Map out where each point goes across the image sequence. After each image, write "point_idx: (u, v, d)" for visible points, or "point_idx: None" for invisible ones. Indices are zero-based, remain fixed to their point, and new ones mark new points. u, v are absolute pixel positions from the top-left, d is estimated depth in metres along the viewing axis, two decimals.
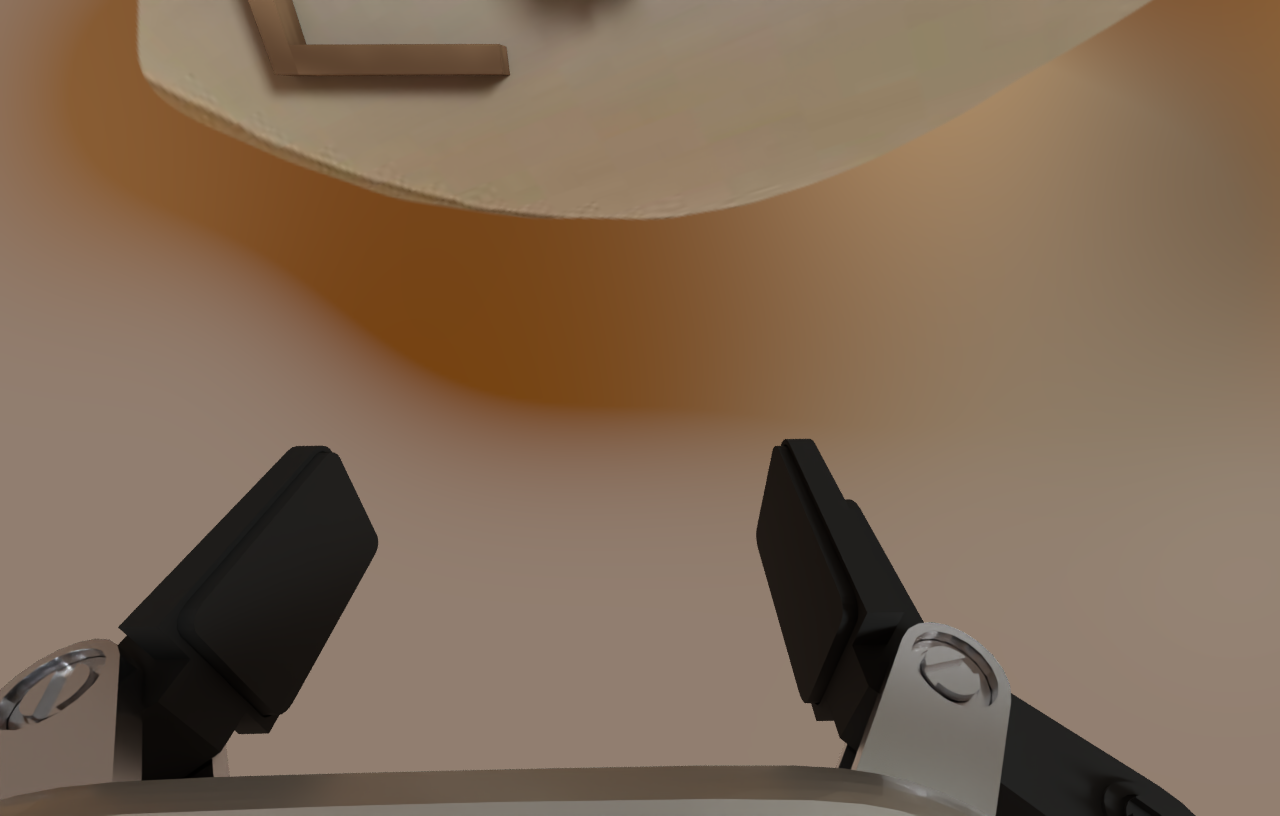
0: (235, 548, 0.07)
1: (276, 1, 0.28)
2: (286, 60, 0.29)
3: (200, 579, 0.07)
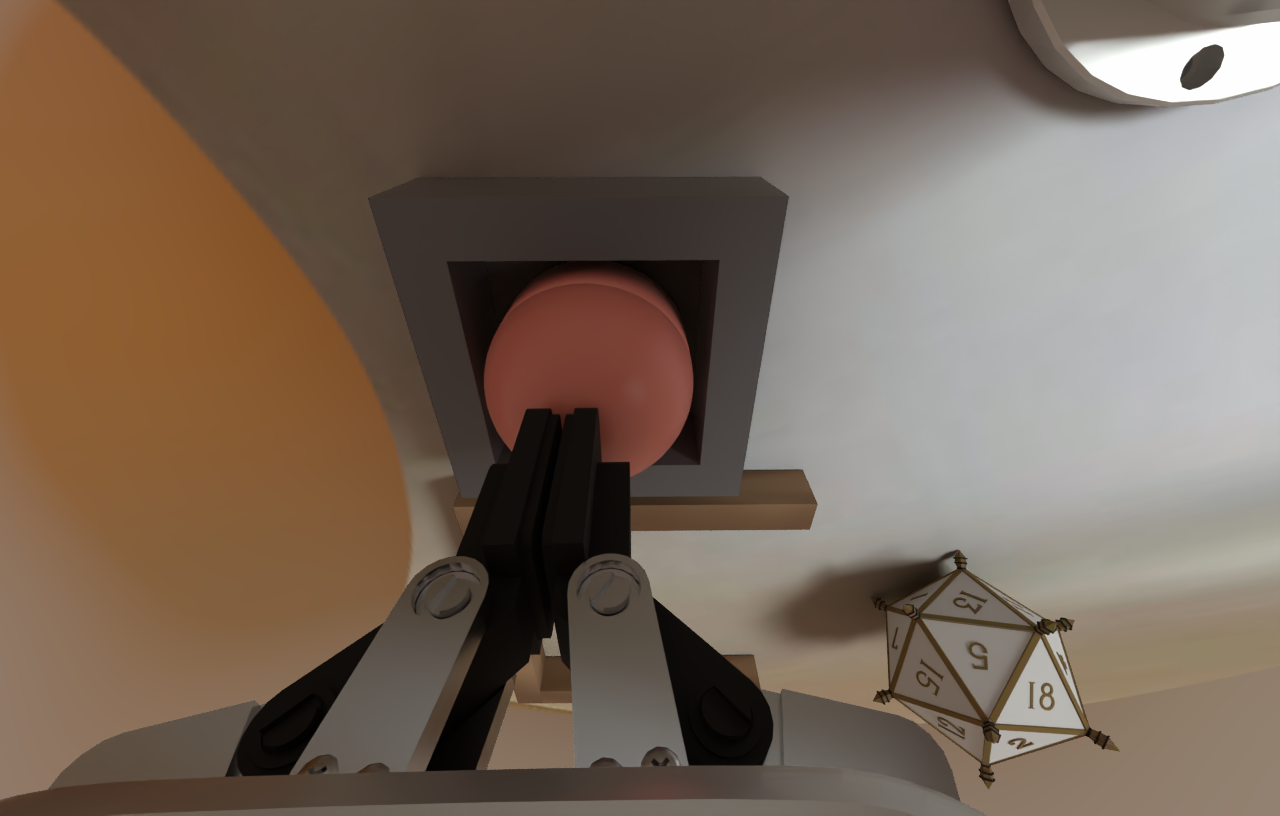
0: (531, 487, 0.08)
1: (536, 668, 0.26)
2: (533, 697, 0.28)
3: (523, 509, 0.08)
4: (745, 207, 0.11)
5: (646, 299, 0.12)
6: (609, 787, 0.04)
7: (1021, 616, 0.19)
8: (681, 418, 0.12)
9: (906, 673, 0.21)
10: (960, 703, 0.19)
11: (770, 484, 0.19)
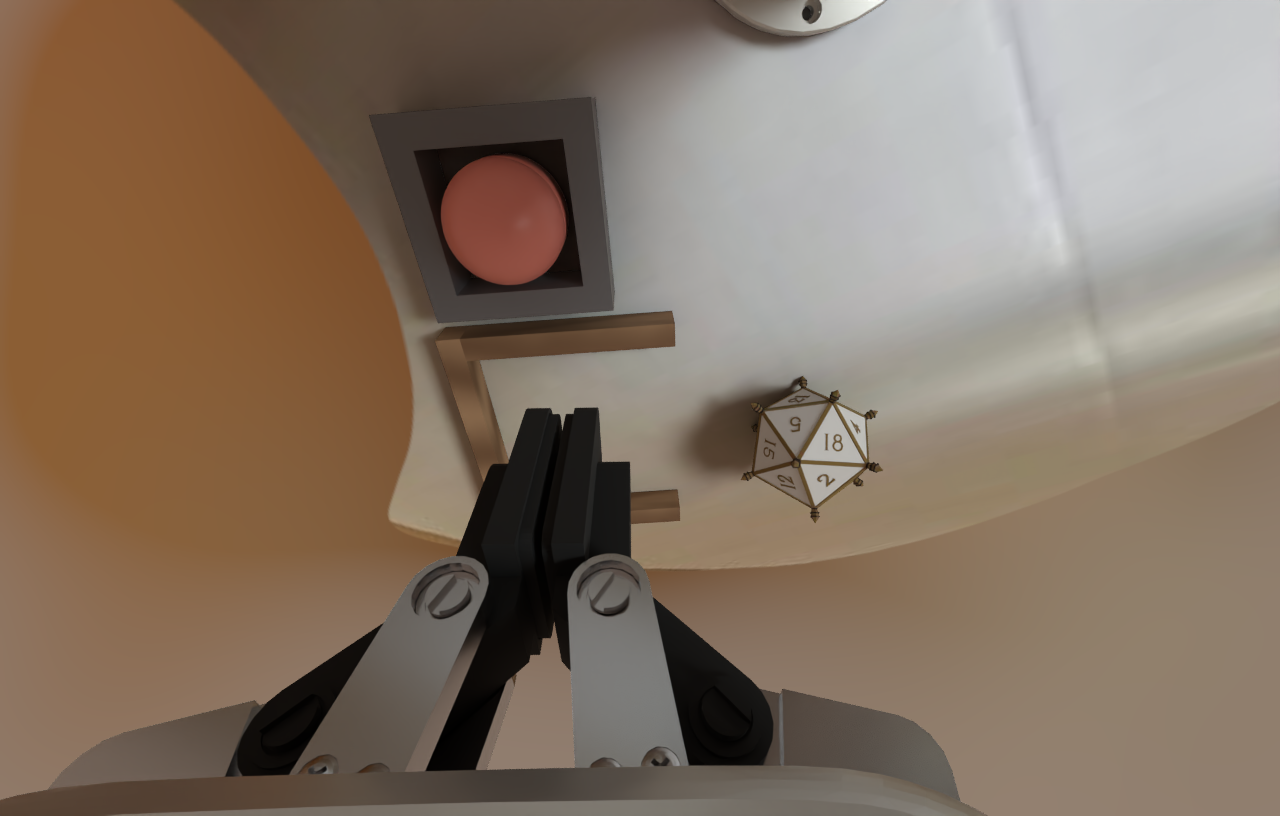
0: (531, 488, 0.08)
1: None
2: None
3: (523, 510, 0.08)
4: (569, 105, 0.21)
5: (527, 165, 0.22)
6: (609, 787, 0.04)
7: (825, 397, 0.28)
8: (551, 231, 0.22)
9: (759, 453, 0.30)
10: (784, 456, 0.28)
11: (647, 318, 0.29)
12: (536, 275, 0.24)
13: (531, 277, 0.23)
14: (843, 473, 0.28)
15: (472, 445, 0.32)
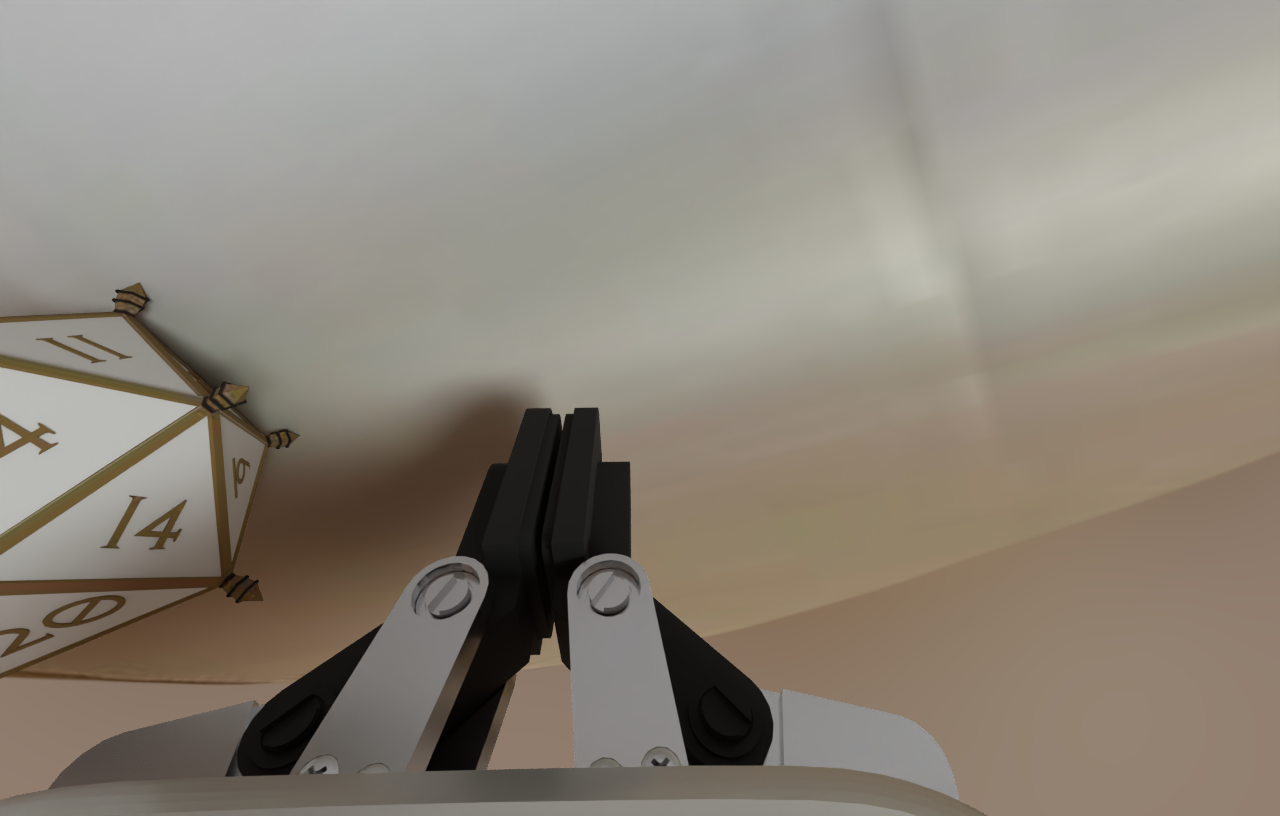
0: (531, 488, 0.08)
1: None
2: None
3: (522, 509, 0.08)
4: None
5: None
6: (609, 787, 0.04)
7: None
8: None
9: None
10: None
11: None
12: None
13: None
14: None
15: None
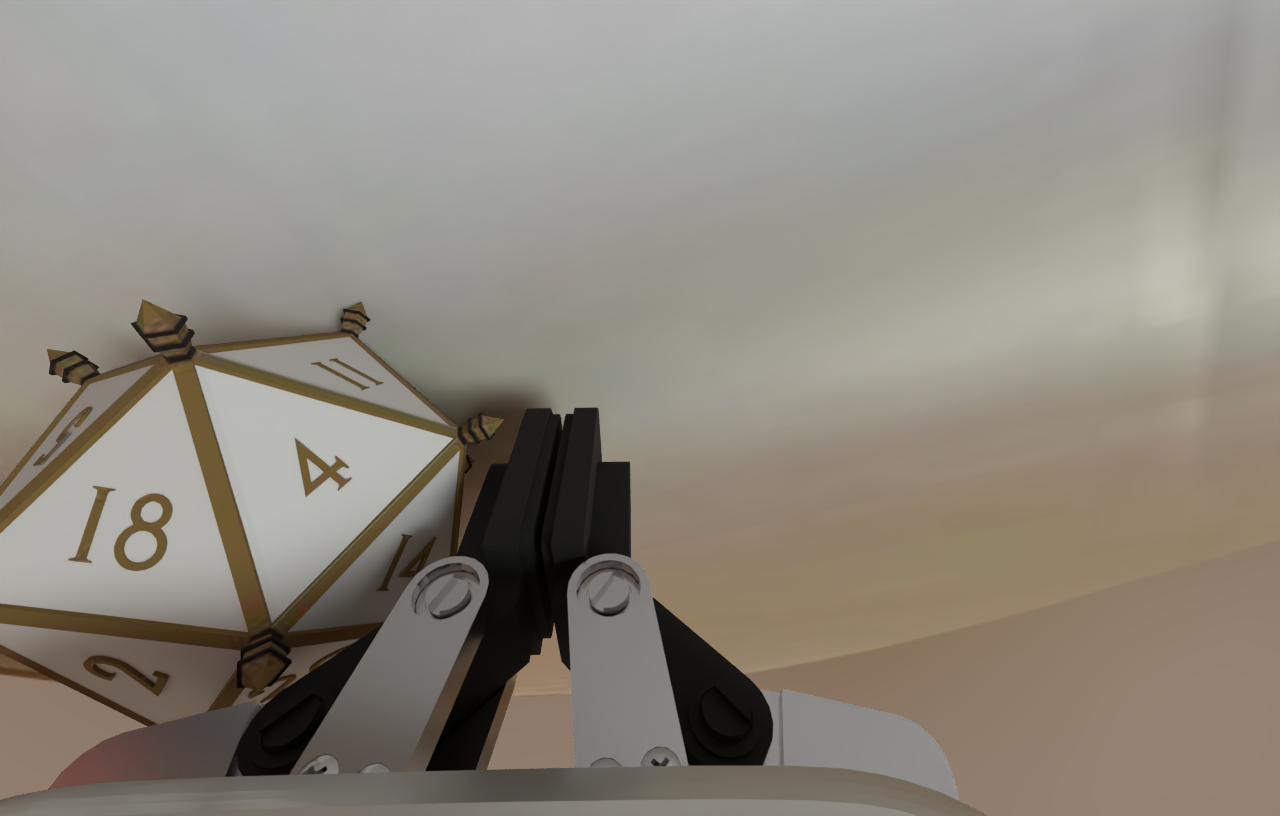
0: (532, 488, 0.08)
1: None
2: None
3: (523, 510, 0.08)
4: None
5: None
6: (609, 787, 0.04)
7: (216, 344, 0.07)
8: None
9: None
10: None
11: None
12: None
13: None
14: (182, 660, 0.07)
15: None
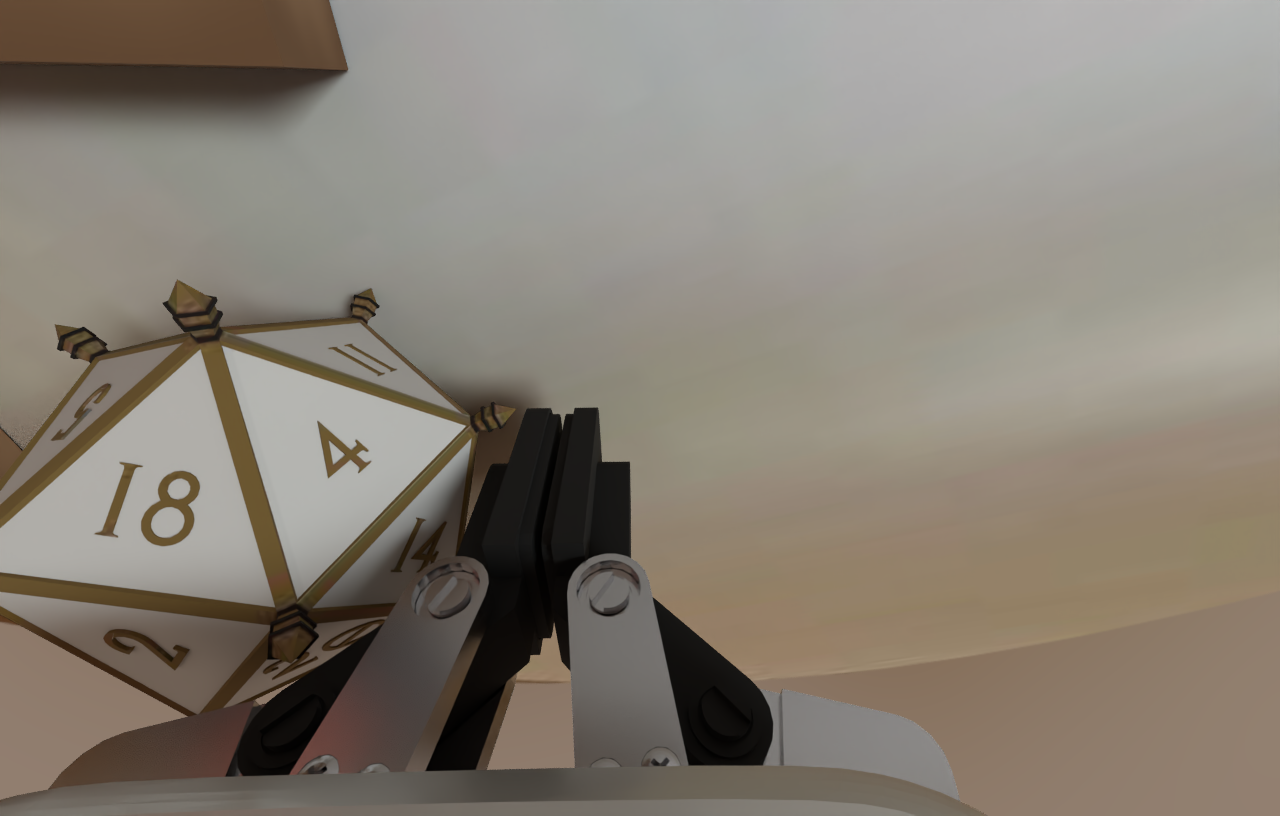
0: (532, 488, 0.08)
1: None
2: None
3: (523, 509, 0.08)
4: None
5: None
6: (609, 787, 0.04)
7: (239, 326, 0.08)
8: None
9: None
10: None
11: None
12: None
13: None
14: (204, 634, 0.07)
15: None
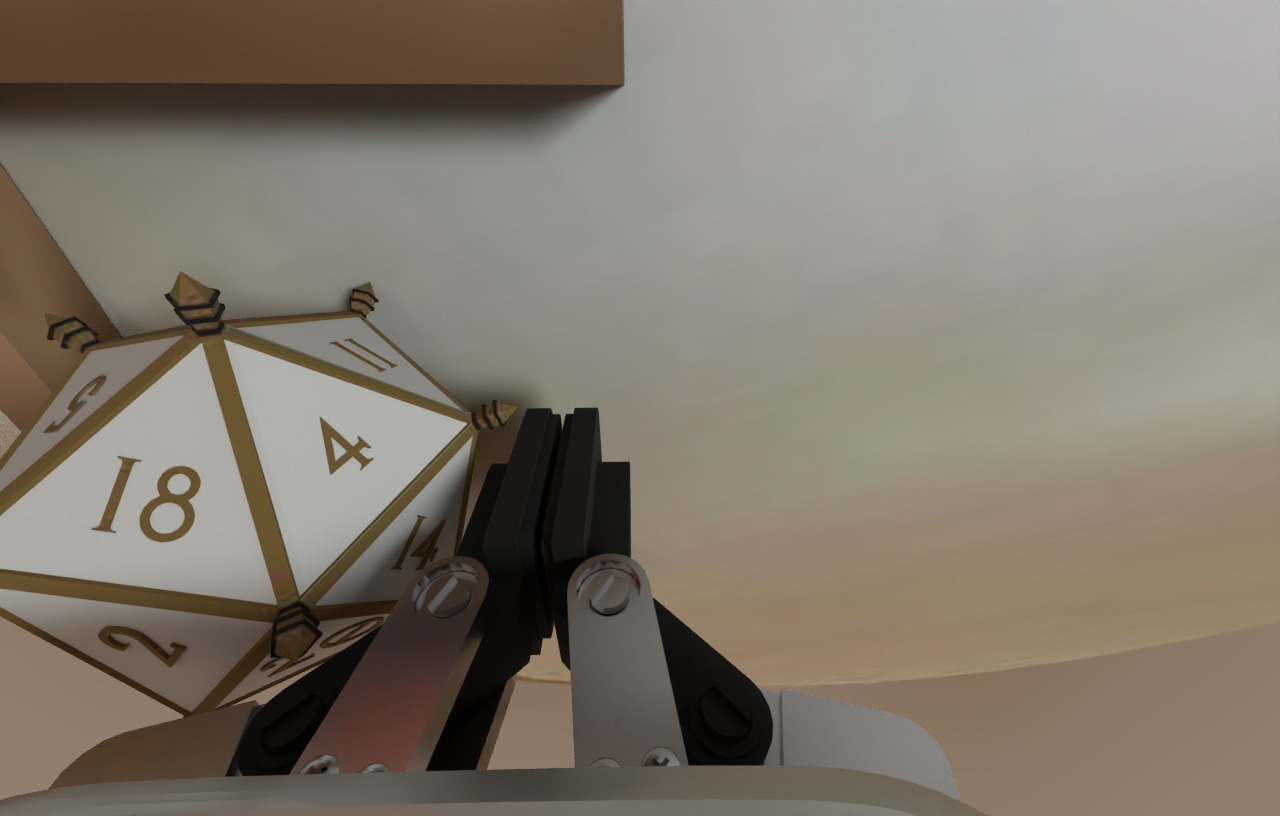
0: (532, 488, 0.08)
1: None
2: None
3: (523, 509, 0.08)
4: None
5: None
6: (609, 787, 0.04)
7: (239, 319, 0.07)
8: None
9: None
10: None
11: None
12: None
13: None
14: (203, 631, 0.07)
15: (17, 422, 0.11)
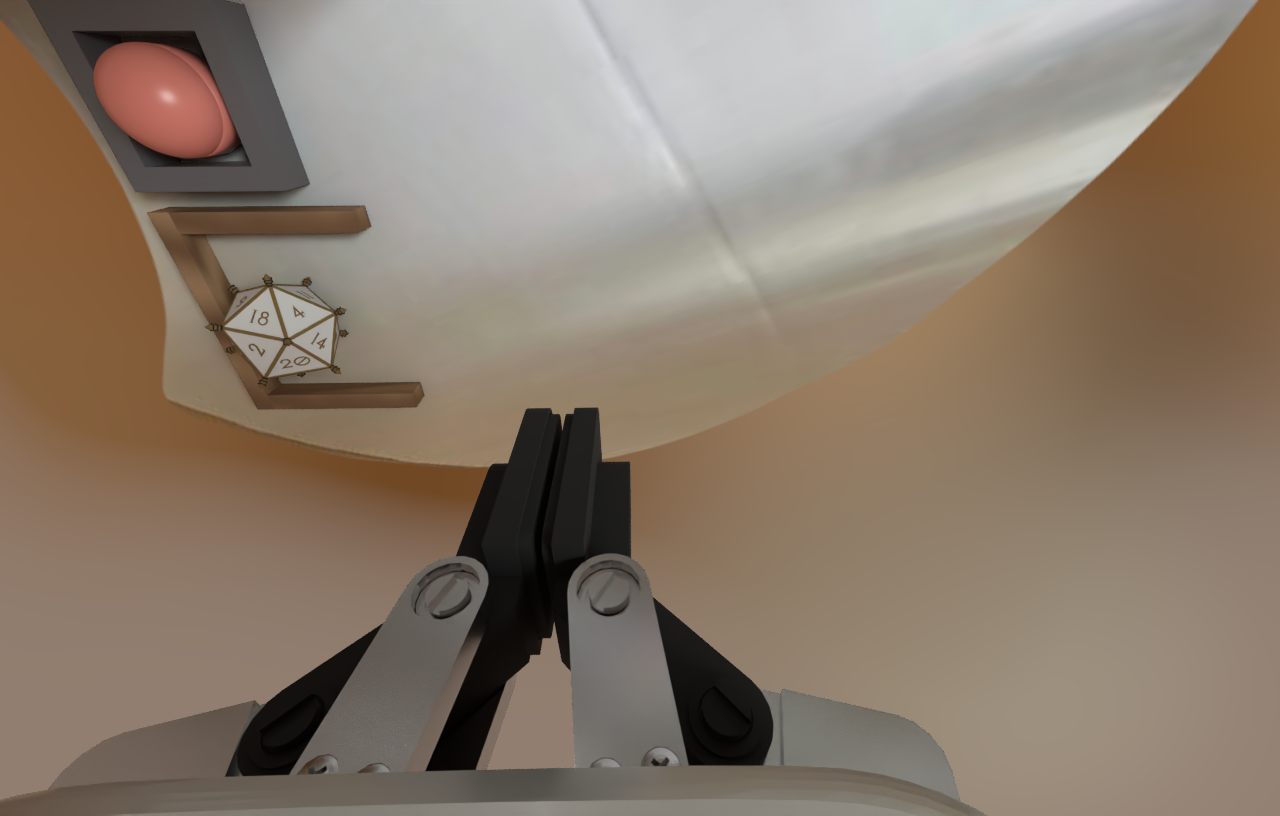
0: (531, 488, 0.08)
1: (258, 374, 0.41)
2: (265, 402, 0.42)
3: (522, 509, 0.08)
4: (191, 1, 0.26)
5: (173, 52, 0.27)
6: (609, 787, 0.04)
7: (275, 284, 0.34)
8: (192, 107, 0.27)
9: None
10: None
11: (337, 208, 0.34)
12: (194, 148, 0.29)
13: (189, 149, 0.29)
14: (269, 345, 0.33)
15: (207, 318, 0.37)
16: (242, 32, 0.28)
